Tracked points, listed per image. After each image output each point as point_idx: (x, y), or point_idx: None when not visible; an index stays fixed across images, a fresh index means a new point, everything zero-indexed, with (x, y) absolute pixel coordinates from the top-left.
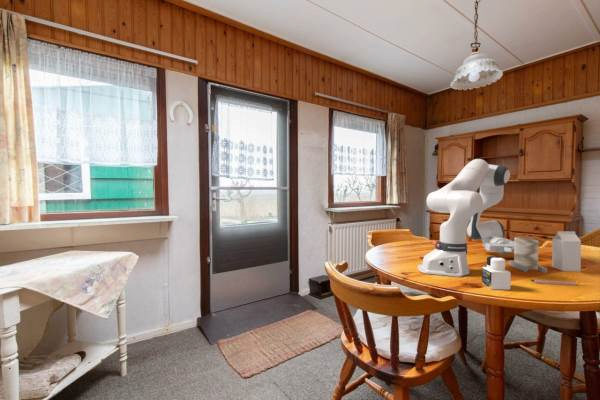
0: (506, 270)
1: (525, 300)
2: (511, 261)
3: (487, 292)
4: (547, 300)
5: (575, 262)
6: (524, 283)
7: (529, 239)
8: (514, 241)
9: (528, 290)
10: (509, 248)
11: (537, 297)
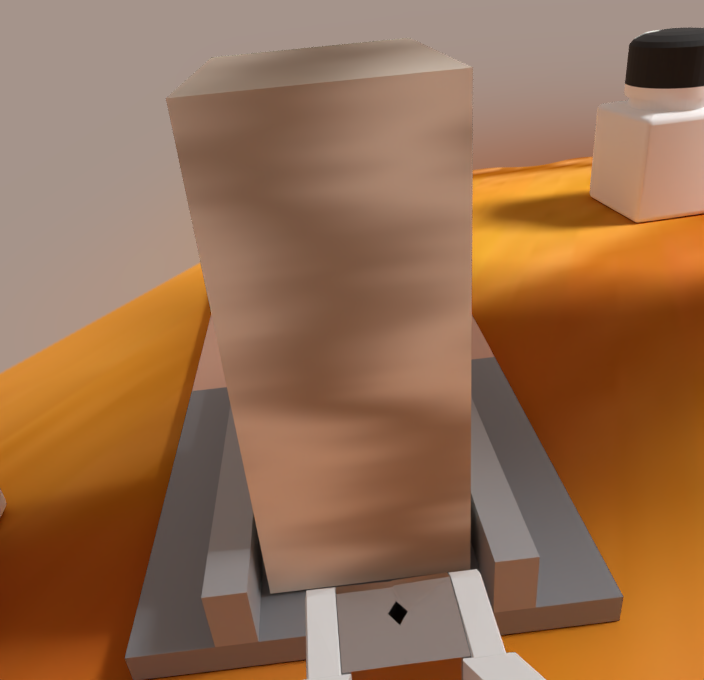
0: (616, 104)
1: (547, 165)
2: (513, 510)
3: None
4: (473, 177)
5: None
6: (505, 254)
7: (285, 58)
8: (471, 168)
9: (512, 209)
10: (502, 651)
11: (498, 182)
